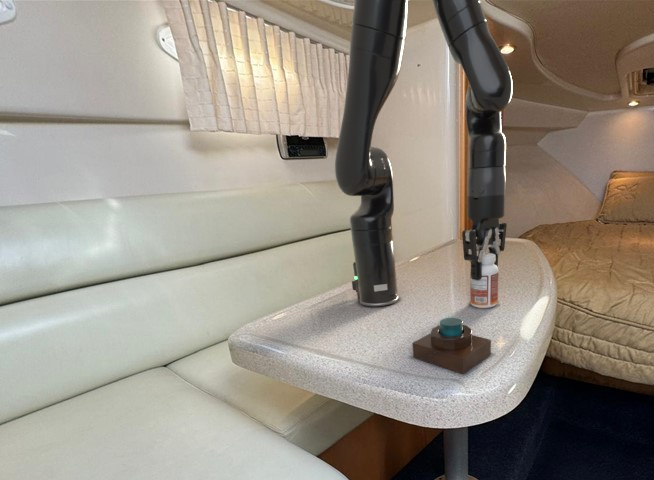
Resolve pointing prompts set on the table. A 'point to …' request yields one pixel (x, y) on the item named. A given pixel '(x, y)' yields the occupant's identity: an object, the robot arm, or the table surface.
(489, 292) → the pill bottle
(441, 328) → the teal push button
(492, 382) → the table surface
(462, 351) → the push button base
